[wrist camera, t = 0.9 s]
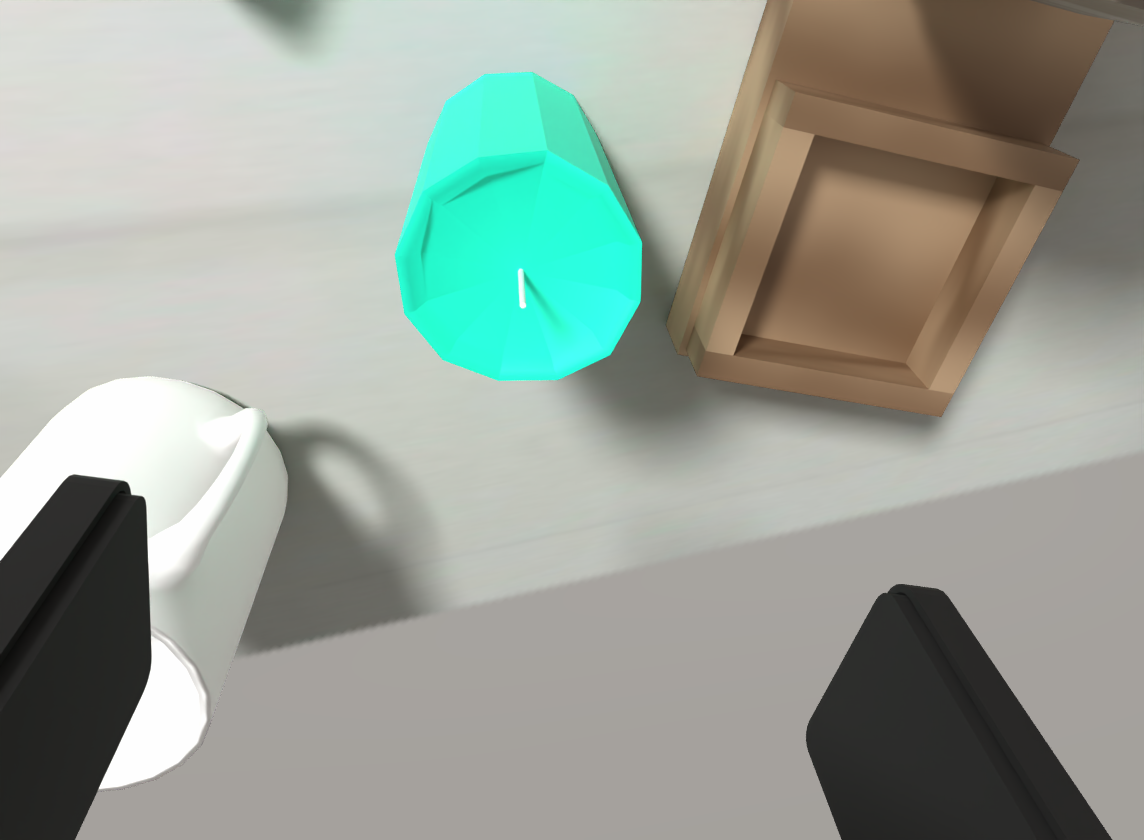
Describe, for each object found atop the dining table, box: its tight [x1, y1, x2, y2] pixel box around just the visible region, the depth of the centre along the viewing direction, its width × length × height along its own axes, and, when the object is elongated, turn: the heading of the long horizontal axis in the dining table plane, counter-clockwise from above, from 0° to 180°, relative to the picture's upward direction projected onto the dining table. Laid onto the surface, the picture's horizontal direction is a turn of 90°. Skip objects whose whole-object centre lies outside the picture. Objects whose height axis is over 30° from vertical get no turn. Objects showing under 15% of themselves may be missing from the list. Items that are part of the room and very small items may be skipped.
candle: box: [395, 72, 642, 381], centre depth 23 cm, size 6×6×12 cm
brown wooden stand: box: [666, 0, 1144, 417], centre depth 21 cm, size 22×10×14 cm, turn 167°
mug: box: [0, 376, 288, 792], centre depth 29 cm, size 10×12×12 cm
